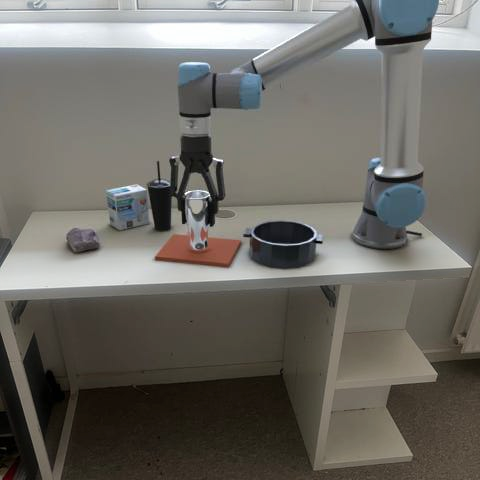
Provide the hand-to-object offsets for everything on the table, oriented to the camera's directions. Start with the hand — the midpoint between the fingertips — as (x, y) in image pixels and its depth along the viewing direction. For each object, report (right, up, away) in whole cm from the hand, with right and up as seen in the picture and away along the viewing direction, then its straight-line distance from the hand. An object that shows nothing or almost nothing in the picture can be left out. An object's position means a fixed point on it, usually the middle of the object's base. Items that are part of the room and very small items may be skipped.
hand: (198, 223), depth 135 cm
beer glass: (0, -6, +4) cm, 7 cm away
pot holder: (0, -7, +4) cm, 8 cm away
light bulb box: (-23, +4, +21) cm, 31 cm away
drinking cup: (-12, +2, +19) cm, 22 cm away
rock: (-33, -5, +6) cm, 34 cm away
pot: (+23, -8, +3) cm, 24 cm away
